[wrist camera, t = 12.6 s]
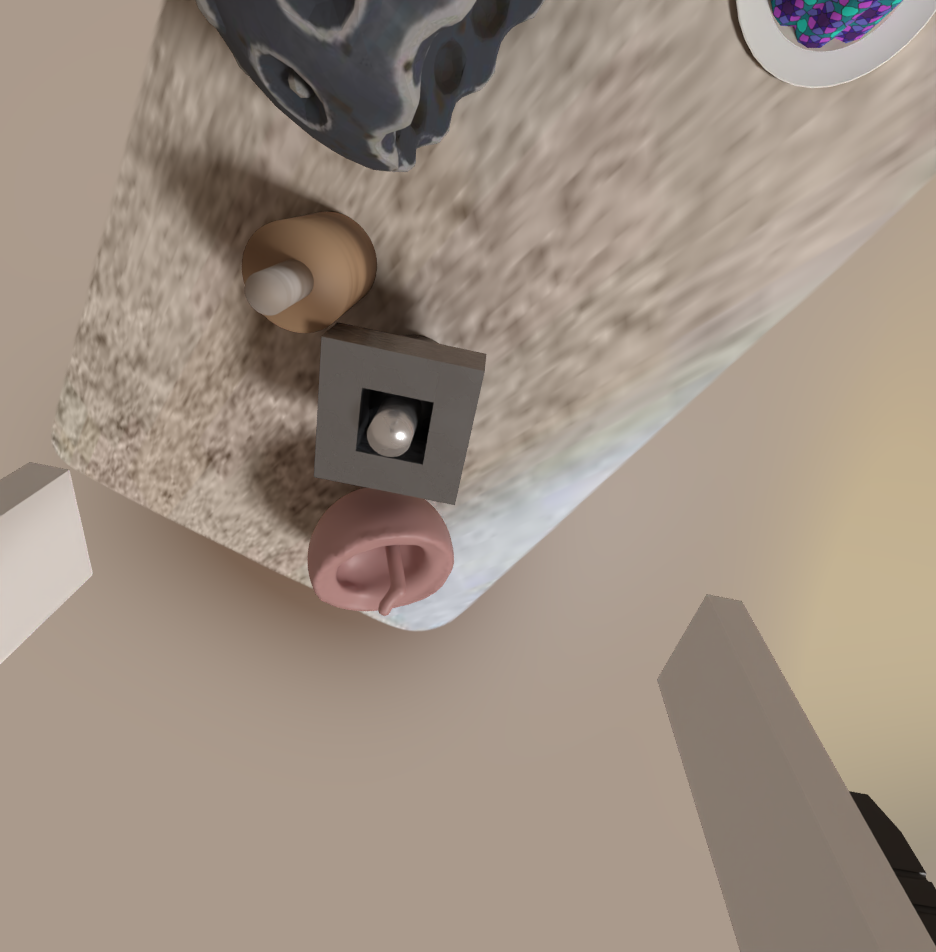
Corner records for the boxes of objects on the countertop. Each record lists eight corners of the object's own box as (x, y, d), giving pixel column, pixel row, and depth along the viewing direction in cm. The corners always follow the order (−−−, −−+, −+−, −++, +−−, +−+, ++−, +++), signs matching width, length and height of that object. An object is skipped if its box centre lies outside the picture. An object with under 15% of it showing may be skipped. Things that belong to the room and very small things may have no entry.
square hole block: (337, 322, 34) (321, 336, 31) (486, 354, 35) (484, 371, 32) (328, 453, 39) (314, 477, 36) (458, 479, 40) (454, 505, 37)
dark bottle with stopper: (407, 316, 40) (376, 360, 30) (475, 375, 42) (467, 434, 32) (355, 380, 42) (312, 439, 33) (421, 433, 44) (399, 503, 35)
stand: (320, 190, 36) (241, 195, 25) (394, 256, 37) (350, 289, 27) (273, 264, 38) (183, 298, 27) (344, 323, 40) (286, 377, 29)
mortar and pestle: (399, 584, 53) (376, 677, 43) (306, 512, 49) (257, 596, 39) (484, 519, 49) (479, 607, 39) (388, 435, 45) (355, 508, 35)
